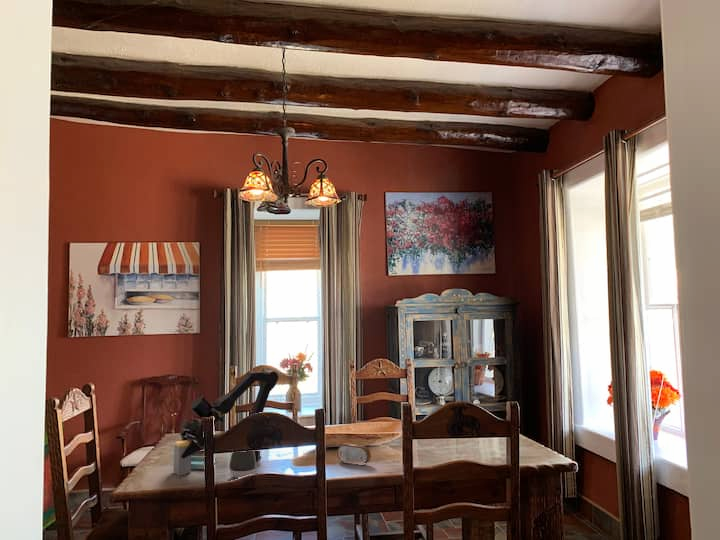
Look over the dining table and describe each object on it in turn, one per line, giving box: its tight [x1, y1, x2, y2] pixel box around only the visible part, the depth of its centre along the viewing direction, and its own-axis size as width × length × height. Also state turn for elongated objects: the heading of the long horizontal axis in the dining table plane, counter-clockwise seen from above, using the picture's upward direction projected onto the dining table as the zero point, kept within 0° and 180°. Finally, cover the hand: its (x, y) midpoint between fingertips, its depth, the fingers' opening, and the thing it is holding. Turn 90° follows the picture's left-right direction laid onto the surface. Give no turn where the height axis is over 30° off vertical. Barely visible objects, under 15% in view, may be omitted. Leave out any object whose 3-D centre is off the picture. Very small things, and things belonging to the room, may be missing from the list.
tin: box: [336, 442, 372, 464], centre depth 222 cm, size 15×3×8 cm, turn 65°
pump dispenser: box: [229, 451, 257, 479], centre depth 203 cm, size 10×10×15 cm
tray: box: [191, 455, 217, 470], centre depth 217 cm, size 11×11×2 cm
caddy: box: [172, 440, 192, 476], centre depth 207 cm, size 5×5×12 cm
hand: (179, 456), depth 206 cm, fingers closed on caddy, 5 cm apart
